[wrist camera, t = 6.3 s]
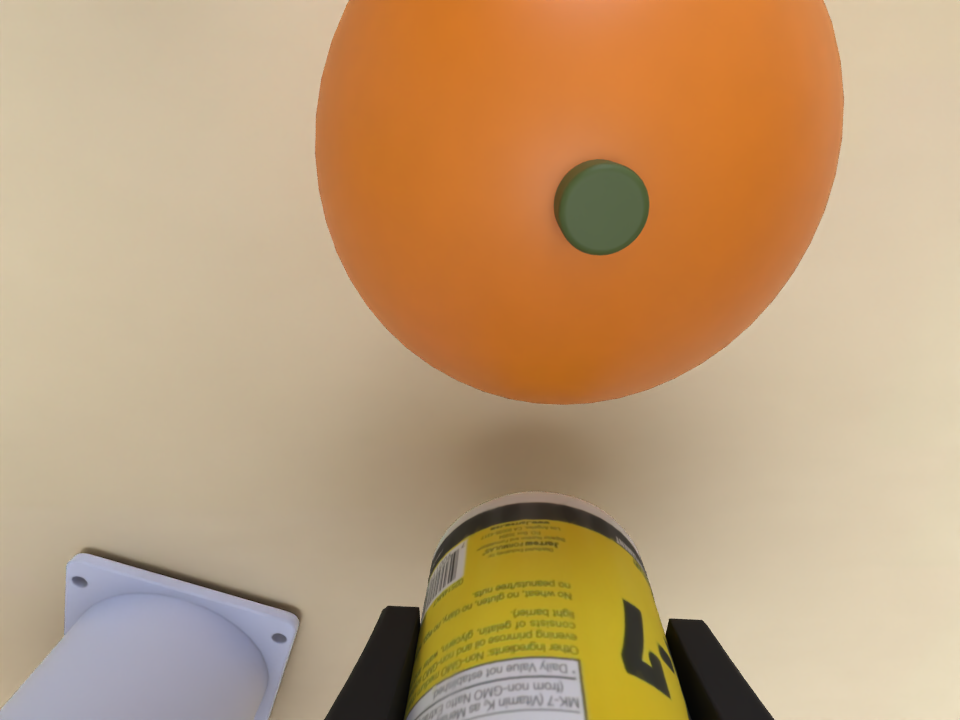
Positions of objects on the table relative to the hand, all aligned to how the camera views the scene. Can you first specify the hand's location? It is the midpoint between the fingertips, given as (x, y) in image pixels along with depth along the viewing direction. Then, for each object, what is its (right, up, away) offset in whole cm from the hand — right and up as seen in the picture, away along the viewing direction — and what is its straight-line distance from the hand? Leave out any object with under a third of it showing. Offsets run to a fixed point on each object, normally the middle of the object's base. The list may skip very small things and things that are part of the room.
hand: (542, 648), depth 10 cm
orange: (0, +10, +2) cm, 10 cm away
